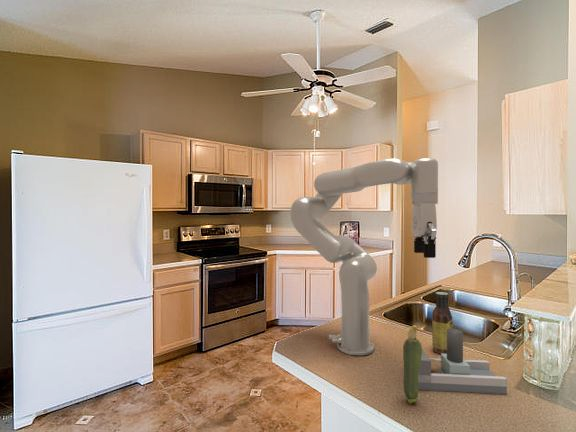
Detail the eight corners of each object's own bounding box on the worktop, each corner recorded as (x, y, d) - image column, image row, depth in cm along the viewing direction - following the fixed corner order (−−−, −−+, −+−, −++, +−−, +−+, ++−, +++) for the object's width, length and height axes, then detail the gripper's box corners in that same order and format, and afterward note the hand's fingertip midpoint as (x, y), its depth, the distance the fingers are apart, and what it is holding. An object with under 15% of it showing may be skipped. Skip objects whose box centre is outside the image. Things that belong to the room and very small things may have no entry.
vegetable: (400, 396, 82) (400, 320, 81) (416, 395, 82) (416, 319, 82) (408, 407, 77) (408, 326, 77) (425, 406, 78) (425, 326, 77)
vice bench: (415, 389, 85) (415, 360, 85) (405, 370, 95) (405, 344, 95) (506, 394, 82) (507, 364, 82) (487, 374, 92) (487, 347, 92)
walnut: (428, 376, 87) (428, 365, 87) (423, 369, 91) (423, 358, 91) (443, 377, 87) (443, 366, 87) (438, 370, 91) (438, 359, 91)
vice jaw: (450, 379, 85) (450, 335, 85) (440, 366, 92) (441, 326, 92) (469, 380, 85) (469, 336, 85) (458, 367, 92) (459, 326, 91)
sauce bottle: (455, 356, 103) (455, 296, 103) (434, 355, 105) (435, 295, 104) (449, 347, 110) (449, 291, 109) (430, 346, 111) (430, 290, 110)
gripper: (404, 200, 106) (404, 251, 106) (420, 199, 89) (420, 259, 89) (427, 200, 105) (427, 251, 105) (448, 198, 88) (448, 259, 88)
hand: (424, 255), depth 97 cm, fingers open, 9 cm apart
